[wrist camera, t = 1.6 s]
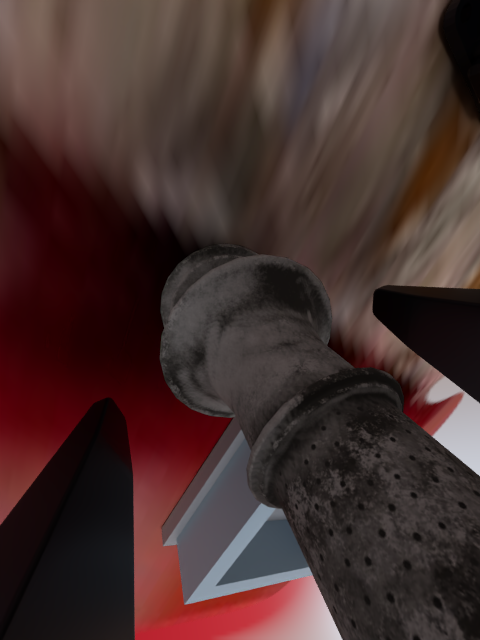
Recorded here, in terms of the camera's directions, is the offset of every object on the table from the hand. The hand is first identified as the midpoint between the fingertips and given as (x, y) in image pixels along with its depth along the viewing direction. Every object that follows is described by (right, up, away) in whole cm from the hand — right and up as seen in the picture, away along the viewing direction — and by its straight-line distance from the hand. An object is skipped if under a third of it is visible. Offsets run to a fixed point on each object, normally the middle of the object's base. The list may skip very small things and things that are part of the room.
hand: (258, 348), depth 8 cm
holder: (+2, -9, +10) cm, 14 cm away
